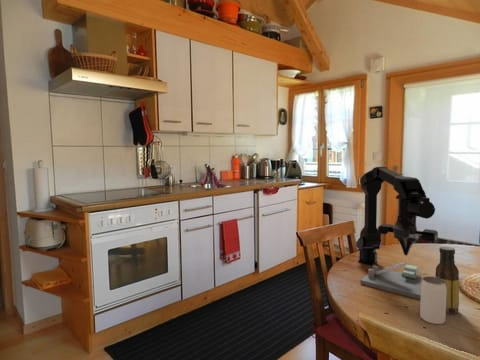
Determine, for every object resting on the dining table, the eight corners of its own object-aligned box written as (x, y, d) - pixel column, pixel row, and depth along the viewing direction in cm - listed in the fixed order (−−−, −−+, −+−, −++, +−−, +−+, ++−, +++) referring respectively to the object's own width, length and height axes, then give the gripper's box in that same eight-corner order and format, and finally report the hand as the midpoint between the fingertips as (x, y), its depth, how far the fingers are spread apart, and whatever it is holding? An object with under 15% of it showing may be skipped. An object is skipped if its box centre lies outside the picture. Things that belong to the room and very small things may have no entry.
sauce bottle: (453, 305, 102) (455, 245, 101) (462, 315, 96) (465, 251, 95) (431, 304, 104) (433, 244, 102) (438, 313, 98) (441, 250, 96)
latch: (401, 278, 120) (402, 269, 120) (406, 273, 125) (406, 264, 125) (413, 281, 118) (413, 271, 117) (418, 275, 123) (418, 266, 122)
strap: (371, 276, 124) (369, 273, 124) (374, 274, 126) (372, 271, 126) (404, 266, 115) (403, 263, 116) (407, 264, 118) (405, 260, 118)
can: (436, 327, 90) (438, 286, 89) (415, 317, 96) (416, 278, 95) (450, 321, 93) (451, 281, 92) (428, 311, 99) (429, 274, 98)
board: (360, 283, 121) (360, 272, 120) (376, 270, 133) (376, 260, 133) (426, 301, 106) (426, 288, 106) (437, 284, 118) (437, 273, 118)
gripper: (372, 213, 115) (371, 255, 116) (431, 220, 103) (430, 267, 104) (383, 208, 123) (382, 248, 125) (439, 214, 111) (437, 258, 112)
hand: (406, 255), depth 116 cm, fingers closed
